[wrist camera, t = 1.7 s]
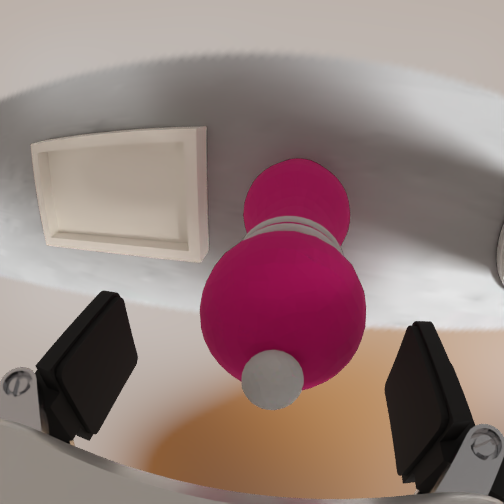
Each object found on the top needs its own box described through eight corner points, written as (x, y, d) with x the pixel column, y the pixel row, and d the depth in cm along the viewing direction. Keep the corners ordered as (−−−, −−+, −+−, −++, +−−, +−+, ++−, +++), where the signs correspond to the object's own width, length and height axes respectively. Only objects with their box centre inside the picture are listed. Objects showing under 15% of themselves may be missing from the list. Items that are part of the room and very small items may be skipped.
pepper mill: (237, 184, 26) (96, 354, 8) (310, 134, 23) (315, 221, 6) (287, 252, 28) (245, 474, 10) (359, 209, 25) (434, 419, 7)
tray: (206, 126, 24) (196, 128, 22) (209, 250, 29) (200, 263, 27) (46, 139, 27) (30, 144, 25) (60, 236, 32) (46, 245, 30)
